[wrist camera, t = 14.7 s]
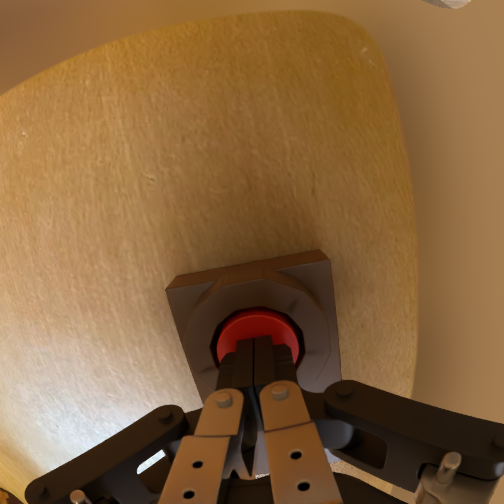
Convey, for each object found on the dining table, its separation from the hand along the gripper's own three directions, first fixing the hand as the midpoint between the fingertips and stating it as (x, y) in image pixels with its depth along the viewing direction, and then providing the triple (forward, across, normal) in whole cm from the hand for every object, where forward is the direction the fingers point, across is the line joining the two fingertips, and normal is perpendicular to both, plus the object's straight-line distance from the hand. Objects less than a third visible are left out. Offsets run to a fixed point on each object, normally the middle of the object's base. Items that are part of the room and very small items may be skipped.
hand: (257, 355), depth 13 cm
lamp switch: (+2, 0, 0) cm, 2 cm away
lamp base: (+4, 0, +4) cm, 6 cm away
